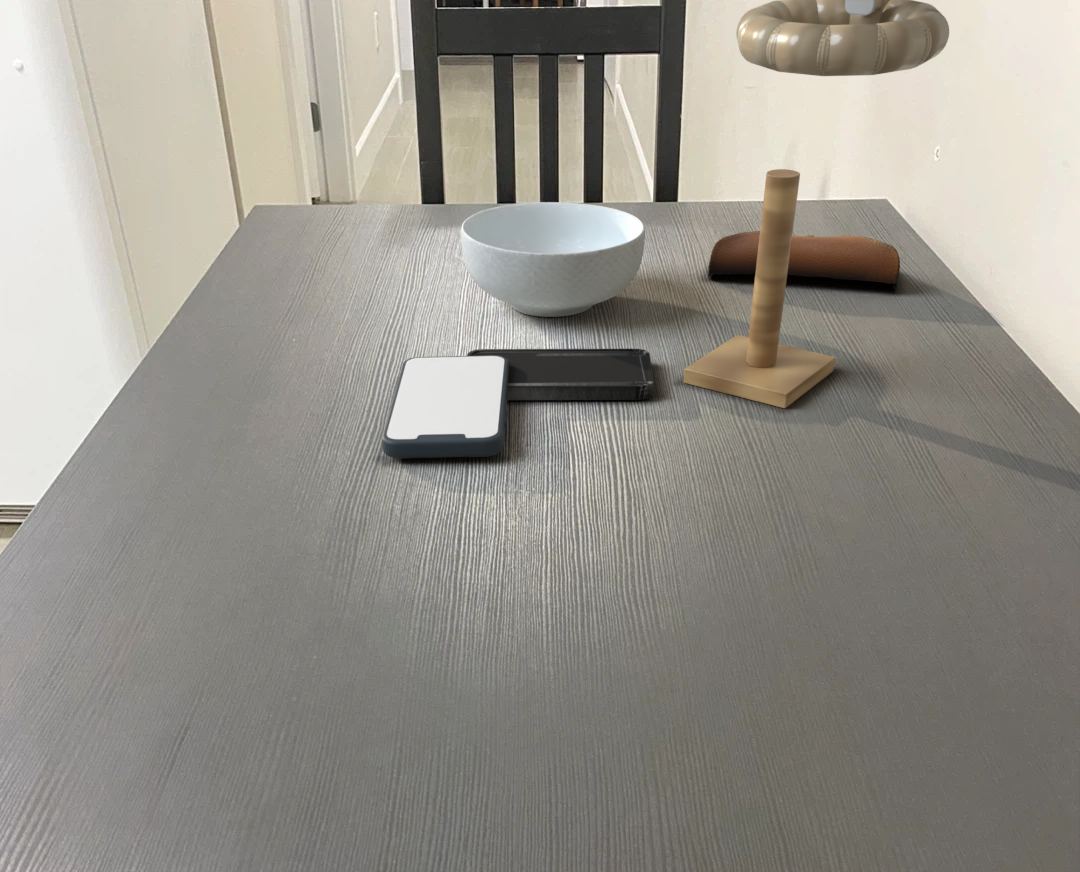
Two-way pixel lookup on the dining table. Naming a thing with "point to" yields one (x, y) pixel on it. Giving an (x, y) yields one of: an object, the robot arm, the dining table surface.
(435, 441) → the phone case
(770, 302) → the peg stand
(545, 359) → the phone
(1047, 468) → the dining table surface
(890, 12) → the ring
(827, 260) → the sunglasses case
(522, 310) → the cereal bowl
